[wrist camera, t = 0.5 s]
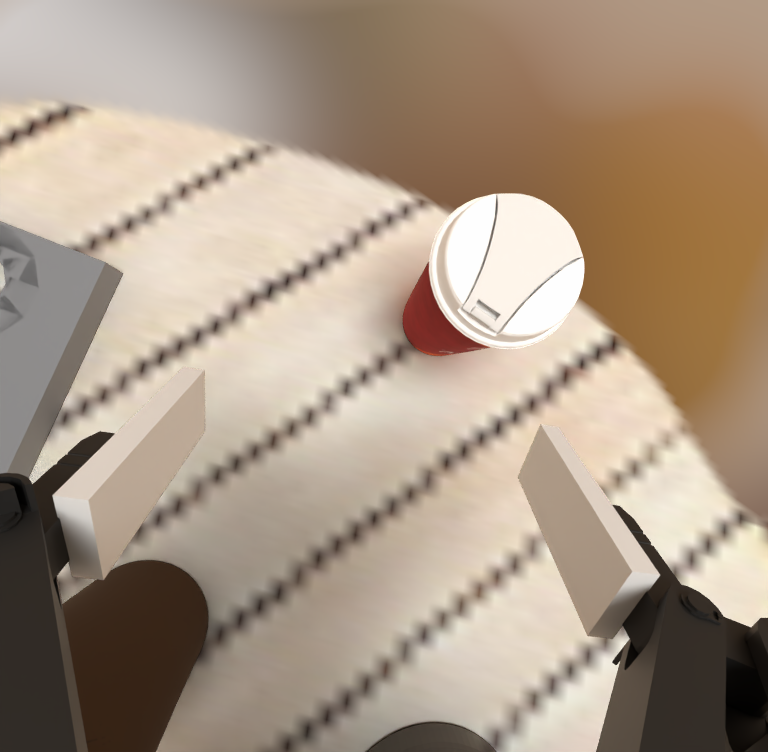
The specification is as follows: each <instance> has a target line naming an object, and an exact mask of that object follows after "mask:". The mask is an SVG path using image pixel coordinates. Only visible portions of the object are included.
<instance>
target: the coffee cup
mask: <svg viewBox="0 0 768 752" xmlns="http://www.w3.org/2000/svg"><path fill="white" fill-rule="evenodd" d="M581 257H583V255H582V252H581V249H580V246H579V243H578V241H577V238H576V236H575V234H574V231H573V230H572V228H571V227H570V225H569V223H568V222H567V221H566V220H565V219H564V218H563V216H562V215H561V214H559V213H558V212H557V211H556V210H555V209H553V208H552V207H551V206H549V205H548V204H546V203H545V202H543V201H541V200H539V199H537V198H534V197H532V196H528V195H523V194H497V195H496V194H492V195H489V196H485V197H481V198H477V199H474V200H472V201H470V202H467V203H465V204H464V205H462V206H461V207H459V208H457V209H456V210H455V211H454V212H453V213H452V214H451V215H450V216H449V217H448V218H447V219H446V220H445V222H444V223H443V224H442V225H441V227H440V229H439V231H438V232H437V234H436V236H435V239H434V242H433V244H432V247H431V253H430V258H429V262H428V264H427V266H426V267H425V269H424V271H423V273H422V275H421V277H420V278H419V280H418V282H417V284H416V286H415V288H414V290H413V292H412V294H411V295H410V297H409V299H408V302H407V304H406V306H405V309H404V313H403V328H404V331H405V334H406V336H407V338H408V340H409V341H410V343H411V344H412V345H413V346H414V347H415V348H417V349H418V350H420V351H421V352H423V353H426V354H429V355H434V356H444V355H451V354H457V353H463V352H469V351H474V350H479V349H485V348H490V347H493V348H498V349H516V348H523V347H527V346H530V345H533V344H536V343H538V342H540V341H542V340H544V339H545V338H547V337H548V336H549V335H551V334H552V333H553V332H554V331H555V330H556V329H557V328H558V327H559V326H560V325H561V324H562V323H563V321H564V320H565V319H566V317H567V316H568V314H569V312H570V311H571V309H572V308H573V306H574V305H575V303H576V301H577V299H578V297H579V294H580V291H581V288H582V284H583V277H584V259H583V258H581ZM580 258H581V259H580Z"/></svg>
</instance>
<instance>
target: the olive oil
mask: <svg viewBox="0 0 768 752" xmlns="http://www.w3.org/2000/svg"><path fill="white" fill-rule="evenodd" d="M62 606H63V612H64V617H65V623H66V629H67V634H68V640H69V646H70V652H71V657H72V663H73V669H74V675H75V680H76V686H77V692H78V698H79V703H80V709H81V715H82V721H83V726H84V732H85V738H86V743H87V749H88V752H156V750H157V748H158V746H159V743H160V741H161V739H162V736H163V734H164V732H165V729H166V727H167V725H168V722H169V720H170V718H171V715H172V713H173V711H174V708H175V706H176V704H177V701H178V699H179V697H180V695H181V692H182V690H183V688H184V686H185V684H186V681H187V679H188V677H189V675H190V673H191V671H192V668H193V666H194V664H195V662H196V660H197V657H198V655H199V653H200V651H201V649H202V646H203V643H204V641H205V637H206V633H207V628H208V610H207V605H206V601H205V598H204V596H203V593H202V591H201V590H200V588H199V586H198V585H197V584H196V582H195V581H194V580H193V579H192V578H191V577H190V576H189V575H188V574H187V573H185V572H184V571H182V570H181V569H179V568H177V567H175V566H173V565H171V564H168V563H164V562H159V561H136V562H131V563H128V564H125V565H122V566H119V567H117V568H115V569H113V570H111V571H110V572H109V573H108V575H107V576H106V577H105V579H104V580H96V581H94V582H93V583H91V584H90V585H89V586H87V587H86V588H84V589H83V590H82V591H80V592H79V593H77V594H76V595H75V596H73V597H72V598H71V599H69V600H68V601H66V602H65V603H64V604H62Z"/></svg>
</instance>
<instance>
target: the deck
mask: <svg viewBox="0 0 768 752" xmlns="http://www.w3.org/2000/svg"><path fill="white" fill-rule="evenodd" d="M0 263H1V264H2V265H3V267H4V274H5V282H6V284H5V286H4V288H3V290H2V292H1V294H0V474H1V473H18V474H21V475H24V476H26V477H28V478H29V475H30V473H31V471H32V469H33V467H34V465H35V462H36V460H37V458H38V456H39V454H40V452H41V449H42V447H43V445H44V443H45V441H46V439H47V437H48V434H49V432H50V430H51V428H52V426H53V424H54V421H55V419H56V417H57V415H58V413H59V411H60V408H61V406H62V404H63V402H64V400H65V398H66V395H67V393H68V391H69V389H70V387H71V385H72V383H73V380H74V378H75V376H76V374H77V372H78V370H79V367H80V365H81V363H82V361H83V359H84V357H85V354H86V352H87V350H88V348H89V346H90V344H91V342H92V339H93V337H94V335H95V333H96V331H97V329H98V326H99V324H100V322H101V320H102V318H103V316H104V313H105V311H106V309H107V307H108V305H109V303H110V300H111V298H112V296H113V294H114V292H115V290H116V288H117V285H118V283H119V281H120V279H121V277H122V275H123V273H122V272H120V271H118V270H117V269H115V268H114V267H112V266H110V265H109V264H107V263H106V262H103V261H101V260H98V259H95V258H93V257H90V256H88V255H85V254H83V253H80V252H78V251H75V250H72V249H70V248H67V247H65V246H62V245H60V244H57V243H54V242H52V241H49V240H47V239H44V238H42V237H39V236H37V235H34V234H31V233H29V232H26V231H24V230H21V229H19V228H16V227H13V226H11V225H8V224H6V223H3V222H1V221H0Z"/></svg>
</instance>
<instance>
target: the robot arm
mask: <svg viewBox="0 0 768 752" xmlns="http://www.w3.org/2000/svg"><path fill="white" fill-rule="evenodd" d="M204 432H205V370H202V369H196V368H189V367H182V368H181V369H180V370H179V371H178V372H177V373H176V374H175V375H174V376H173V377H172V378H171V379H170V380H169V381H168V382H167V383H166V384H165V385H164V386H163V387H162V388H161V389H160V390H159V391H158V392H157V393H156V394H155V395H154V396H153V397H152V398H151V399H150V400H149V401H148V402H147V403H146V404H145V405H144V406H143V407H142V408H141V409H140V410H139V411H138V412H137V413H136V414H135V415H134V416H133V417H132V418H131V419H130V420H129V421H128V422H127V423H126V424H125V425H124V426H122V427H121V428H120V429H119V430H118V431H117V432H116V433H108V432H101V431H100V432H98V433H96V434H94V435H92V436H90V437H88V438H86V439H83V440H81V441H80V442H79V443H78V444H77V445H76V446H75V447H74V448H73V449H71V450H70V451H69V452H68V455H65V456H64V457H62V458H61V459H60V460H59V461H58V462H57V465H54V466H52V467H51V468H50V469H49V470H48V471H47V472H46V473H45V474H43V475H42V476H41V477H40V478H39V479H38V480H37V481H36V482H35V483H33V484H32V483H31V481H30V480H29V478H28V477H26V476H24V475H21V474H18V473H1V474H0V752H88V749H87V743H86V738H85V732H84V726H83V721H82V715H81V709H80V703H79V698H78V692H77V686H76V680H75V675H74V669H73V663H72V657H71V652H70V646H69V640H68V634H67V629H66V623H65V617H64V612H63V606H62V600H61V594H60V589H59V583H58V579H57V575H58V574H59V572H60V571H61V570H62V569H63V567H64V566H65V565H66V564H67V563H68V562H69V566H70V570H71V575H72V577H79V578H88V579H97V580H104V579H105V577H106V576H107V575H108V573H109V572H110V570H111V569H112V567H113V566H114V564H115V563H116V561H117V560H118V558H119V557H120V555H121V554H122V552H123V551H124V550H125V548H126V547H127V545H128V544H129V542H130V541H131V539H132V538H133V536H134V535H135V533H136V532H137V530H138V529H139V528H140V526H141V525H142V523H143V522H144V520H145V519H146V517H147V516H148V514H149V513H150V511H151V510H152V508H153V507H154V505H155V504H156V503H157V501H158V500H159V498H160V497H161V495H162V494H163V492H164V491H165V489H166V488H167V486H168V485H169V483H170V482H171V481H172V479H173V478H174V476H175V475H176V473H177V472H178V470H179V469H180V467H181V466H182V464H183V463H184V461H185V460H186V459H187V457H188V456H189V454H190V453H191V451H192V450H193V448H194V447H195V445H196V444H197V442H198V441H199V439H200V438H201V436H202V435H203V434H204ZM518 479H519V481H520V484H521V486H522V488H523V490H524V493H525V495H526V497H527V499H528V502H529V504H530V506H531V509H532V511H533V513H534V515H535V518H536V520H537V522H538V524H539V527H540V529H541V531H542V534H543V536H544V538H545V540H546V543H547V545H548V547H549V549H550V552H551V554H552V556H553V559H554V561H555V563H556V565H557V568H558V570H559V572H560V574H561V577H562V579H563V581H564V583H565V586H566V588H567V590H568V593H569V595H570V597H571V599H572V602H573V604H574V606H575V608H576V611H577V613H578V615H579V618H580V620H581V622H582V624H583V627H584V629H585V631H586V633H587V636H593V637H602V638H610V639H613V638H614V637H615V635H616V634H617V633H618V631H619V630H620V629H621V627H622V626H623V627H624V629H625V630H626V632H627V634H628V636H629V638H630V639H629V641H628V642H627V643H626V644H625V646H624V647H623V648H622V650H621V651H620V652H619V653H618V655H617V656H616V657H615V659H614V660H613V662H612V663H614V664H615V665H617V664H618V662H619V661H620V664H619V668H618V672H617V675H616V679H615V683H614V687H613V691H612V694H611V698H610V702H609V706H608V709H607V713H606V717H605V721H604V724H603V728H602V732H601V736H600V739H599V743H598V747H597V751H596V752H768V618H760V619H759V620H758V621H757V622H756V623H755V624H754V625H753V626H752V627H748V626H746V625H743V624H741V623H738V622H736V621H733V620H730V619H728V618H725V617H723V615H722V614H721V612H720V611H719V609H718V608H717V607H716V606H715V605H714V604H713V603H712V602H711V601H710V600H709V599H708V598H707V597H705V596H704V595H702V594H701V593H700V592H698V591H696V590H694V589H692V588H690V587H688V586H684V585H681V584H680V582H679V581H678V580H677V578H676V577H675V575H674V574H673V573H672V571H671V570H670V568H669V567H668V566H667V564H666V563H665V562H664V560H663V559H662V557H661V556H660V555H659V553H658V552H657V550H656V549H655V548H654V546H652V545H651V542H650V541H649V539H648V538H647V537H646V535H645V534H643V531H642V530H641V528H640V527H639V525H638V524H637V523H636V521H635V520H634V519H633V518H632V517H631V516H630V515H629V514H628V513H627V512H626V511H624V510H623V509H622V508H621V507H620V506H616V505H612V504H611V503H610V501H609V500H608V498H607V497H606V495H605V494H604V492H603V491H602V489H601V488H600V487H599V485H598V484H597V482H596V481H595V479H594V478H593V476H592V475H591V473H590V472H589V471H588V469H587V468H586V466H585V465H584V463H583V462H582V460H581V459H580V457H579V456H578V454H577V453H576V452H575V450H574V449H573V447H572V446H571V444H570V443H569V441H568V440H567V438H566V437H565V436H564V434H563V433H562V431H561V430H560V428H559V427H555V426H548V425H542V424H540V427H539V429H538V431H537V434H536V436H535V438H534V441H533V443H532V445H531V447H530V450H529V452H528V454H527V457H526V459H525V461H524V464H523V466H522V468H521V470H520V473H519V475H518ZM368 752H496V751H495V750H494V749H493V748H492V747H491V746H490V745H489V744H488V743H487V742H486V741H485V740H483V739H482V738H481V737H479V736H478V735H476V734H474V733H473V732H471V731H469V730H466V729H464V728H461V727H458V726H454V725H450V724H442V723H428V724H421V725H416V726H412V727H408V728H405V729H403V730H400V731H398V732H396V733H394V734H392V735H390V736H388V737H387V738H385V739H383V740H382V741H380V742H379V743H378V744H376V745H375V746H374V747H373V748H371V749H370V750H369V751H368Z"/></svg>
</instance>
